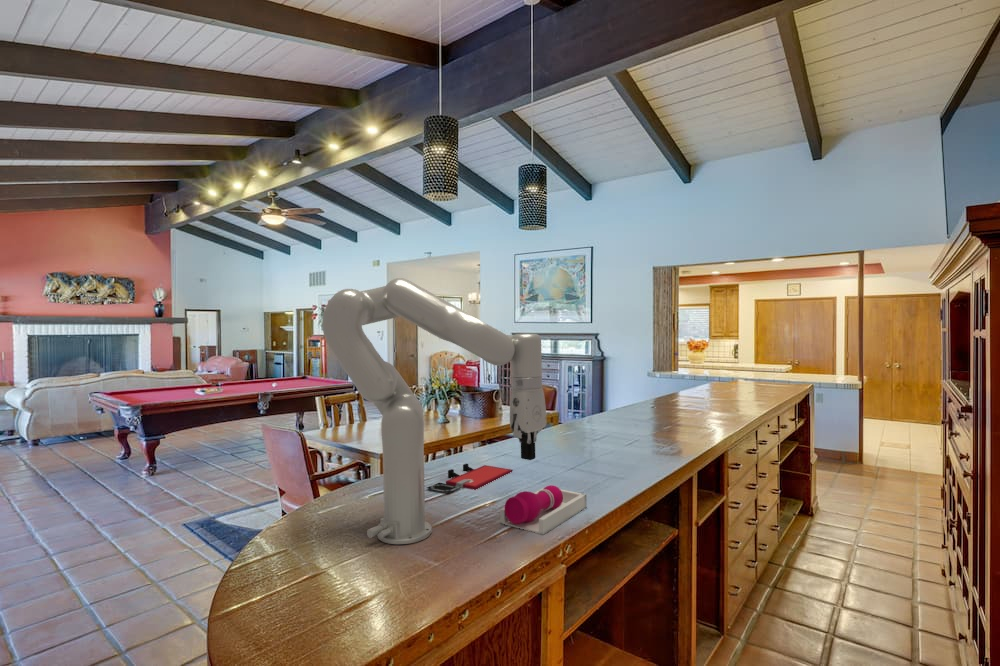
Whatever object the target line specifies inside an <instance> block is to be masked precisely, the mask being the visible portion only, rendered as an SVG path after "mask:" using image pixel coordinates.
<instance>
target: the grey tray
mask: <svg viewBox="0 0 1000 666" xmlns="http://www.w3.org/2000/svg"><path fill="white" fill-rule="evenodd" d="M544 488H545V487H542V488H540V489H538V490H537V491H535V492H533V493H535V494H537V493H538V492H539V491H540V490H543V489H544ZM559 489H560V490H561V492H562V494H563V501H562V504H561V505H560V506H559V507H558V508H556V509H548V510H543V509H542V510H541V511H540V513H539V515H538V516H537V517H536V518H535V519H534V520H532V521H530V522H522V523H519V524H514V523H512V522H511V521H509V519H508V518H507V516H506V513H505V506H504V507H502V508H500V510H499V511H500V515H499V516H500V524H501V525H504V524H505V525H504V526H509V527H512V528H515V529H516V528H517V529H519V528H520V529H519V530H523V529H524V531H527V530H528V532H531V531H532V532H531V533H534V532H535V533H536V534H538V533H539V534H538V535H542V536H545V534H547V533H549V532H550V531H552V530H553V529H555V528H557V527H558V526H560V525H561V524H563V523H564V522H566V521H568V520H569V519H571V518H573V517H574V516H575V515H578V514H579V513H580V512H582V511H584V510H585V509H586V508H587V505H588V504H587V494H586V493H580V492H576V491H571V490H567V489H562V488H559ZM584 508H585V509H584ZM581 510H582V511H581ZM535 533H534V534H535Z"/></svg>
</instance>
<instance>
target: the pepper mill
mask: <svg viewBox="0 0 1000 666" xmlns="http://www.w3.org/2000/svg"><path fill="white" fill-rule="evenodd" d="M543 488H544V489H543ZM543 488H542V489H543V490H541V489H539V490H540V491H539V492H538V493H537V494H535V493H534V492H531V491H527V490H526V491H525V490H524V491H520V492H518V493H517V494H516V495H515V496H511V497H509V498H508V499H507V500H506V501H505V504H504V507H505V513H506V516H507V518H508V519H509V521H511V522H512V523H514V524H519V523H522V522H530V521H532V520H534V519H535V518H536V517H537V516H538V515H539V513H540V511H541V510H542V509H543V510H548V509H556V508H558V507H559V506H560V505H561V504H562V501H563V494H562V492H561V490H560V489H561V488H559V487H557V486H556V485H552V484H551V485H547V486H545V487H543Z"/></svg>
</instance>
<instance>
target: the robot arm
mask: <svg viewBox="0 0 1000 666" xmlns="http://www.w3.org/2000/svg"><path fill="white" fill-rule="evenodd" d="M398 317H400V318H402V319H403V320H405V321H408V322H409V323H411V324H413V325H415V326H417V327H419V328H420V329H422V330H424V331H425V332H427V333H429V334H431V335H433V336H435V337H437V338H439V339H441V340H443V341H446V342H449V343H451V344H455V345H456V346H457V347H460V348H462V349H464V350H465V351H468V352H470V353H471V354H473V355H475V356H477V357H479V358H480V359H482V360H483V361H485V362H486V363H488V364H491V365H493V366H504V365H506V364H508V363H509V362H510V372H511V373H510V376H511V377H510V378H511V379H510V380H511V394H510V400H509V402H510V403H509V427H510V428H509V429H510V430H511V431H512V433H513V434H512V436H513V439H514V438H515V439H518V442H519V443H520V459H522V460H527V461H532V460H535V459H536V443H537V437H538V436H537V435H538V433H540V432H541V431H542V429H544V428H545V427H546V426H547V422H548V421H547V407H546V406H547V405H546V399H545V398H546V396H545V392H544V389H543V365H542V359H543V357H542V337H541V335H539V334H537V333H517V334H506V333H503V331H500V330H498V329H497V328H494V327H493V326H492V325H489V324H487V323H486V322H484V321H482V320H481V319H479V318H476V317H475V316H473V315H471V314H469V313H467V312H465V311H464V310H463V309H461V308H459V307H457V306H455V305H454V304H452V303H450V302H448V301H446V300H445V299H442V298H441V297H439V296H438V295H436V294H434V293H432V292H430V291H428V290H427V289H425V288H423V287H421V286H419V285H418V284H415V282H412V281H411V280H408V279H406V278H401V277H399V278H393V279H392V280H390V281H389V282H388V283H387V284H386V285H385V286H384V285H383V286H380V287H375V288H372V289H371V288H370V289H367V290H361V291H360V290H358V289H356V288H355V289H354V288H344V289H341V290H339V291H337V292H336V293H335V294H334V295H333V296H332V297H330V299H329V301H328V302H327V304H326V307H325V309H324V311H323V316H322V321H321V322H322V332H323V336H324V338H325V342H326V343H327V346H328V347H329V349H330V351H331V352H332V354H333V355H334V357H335V358H336V359H337V361H338V362H339V364H340V366H341V367H342V369H343V371H344V372H345V373H346V374H347V377H348V378H349V380H351V382H352V383H353V384H354V387H356V389H357V391H358V392H359V394H360V395H361V397H362V398H364V399H365V400H366V401H368V402H371V403H373V405H374V406H375V407H376V409H377V410H378V411H379V413H380V414H381V416H382V418H381V424H380V425H381V442H382V443H381V444H382V447H381V448H382V472H383V473H382V479H383V481H382V482H383V516H382V518H381V517H380V519H379V520H380V521H379V522H380V523H378V524H377V525H376V526H373V527H371V528H368V529H367V531H366V535H367V537H368V538H370V539H372V538H374V537H377V539H378V540H379V541H381V542H383V543H385V544H389V545H407V544H414V543H418V542H420V541H421V542H422V541H424V540H425V539H427V538H428V537H429V536H430V535H431V534H432V533H433V532H432V531H433V528H432V525H431V523H430V522H428V521H426V516H425V515H426V510H425V509H426V507H425V506H426V505H425V504H426V503H425V501H426V499H425V498H426V497H425V451H424V450H425V446H424V445H425V443H424V442H425V439H424V437H425V436H424V435H425V434H424V433H425V418H424V417H425V414H424V409H423V406H422V404H421V402H420V401H419V399H418V398H417V397H416V395H415V393H414V392H413V390H412V389H411V388H410V387H409V385H408V383H406V381H405V379H404V378H403V377H402V375H401V374H400V372H399V371H398V370H397V368H396V367H395V366H394V365H393V364H391V363H390V362H388V361H385V360H384V359H383V357H382V356H381V355H380V353H379V352H378V351H377V349H376V348H375V347H374V345H373V343H372V341H371V340H370V339H369V337H367V335H366V334H365V332H364V329H363V326H366V325H369V324H374V323H379V322H382V321H386V320H387V321H388V320H392V319H394V318H395V319H397V318H398Z"/></svg>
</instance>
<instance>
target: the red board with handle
mask: <svg viewBox="0 0 1000 666" xmlns="http://www.w3.org/2000/svg"><path fill="white" fill-rule="evenodd" d="M467 470H468V471H467ZM454 471H455V469H454V468H452V469H451V468H450V469H449V470H447V478H448V480H446V481H445V483H443V482H438V483H435V484H432V485H430V486H428V487H426V489H428V490H432V491H433V490H435V491H439V492H444V493H447V494H449V493H451V492H452V491H455V490H458V489H460V488H462V489H463V488H464V489H468V490H473V489H474V490H473V491H477V490H479V489H481V488H482V486H483V487H485V486H487V485H489V484H491V483H493V482H495V481H497V480H499V479H501V478H503V477H505V476H507V475H509V474H511V473H513V472H512V471H514V469H510V468H504V467H498V466H497V467H496V466H492V465H485V464H484V465H482V466H480V467H478V468H475V469H474V468H472V467H470V466H469V463H465V464H464V463H463V464H462V472H463V471H467V472H464V473H463V474H458V473H456V472H454ZM510 472H511V473H510ZM508 473H509V474H508ZM506 474H507V475H506ZM504 475H505V476H504ZM502 476H503V477H502ZM451 477H453V478H451ZM500 477H501V478H500ZM498 478H499V479H498ZM496 479H497V480H496ZM494 480H495V481H494ZM492 481H493V482H492ZM490 482H491V483H490ZM488 483H489V484H488ZM486 484H487V485H486ZM484 485H485V486H484ZM480 487H481V488H480ZM478 488H479V489H478ZM476 489H477V490H476Z"/></svg>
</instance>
